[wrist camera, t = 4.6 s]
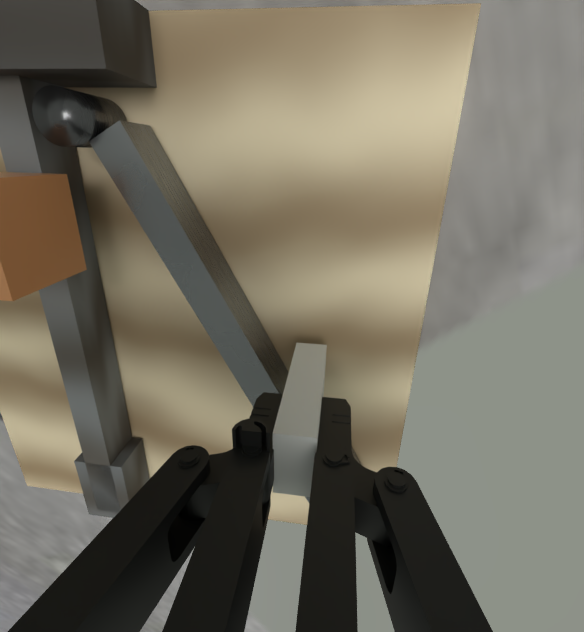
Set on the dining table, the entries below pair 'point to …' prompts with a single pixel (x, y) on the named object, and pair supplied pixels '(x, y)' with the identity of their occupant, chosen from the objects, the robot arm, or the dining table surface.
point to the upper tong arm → (168, 228)
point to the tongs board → (229, 222)
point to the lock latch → (36, 233)
